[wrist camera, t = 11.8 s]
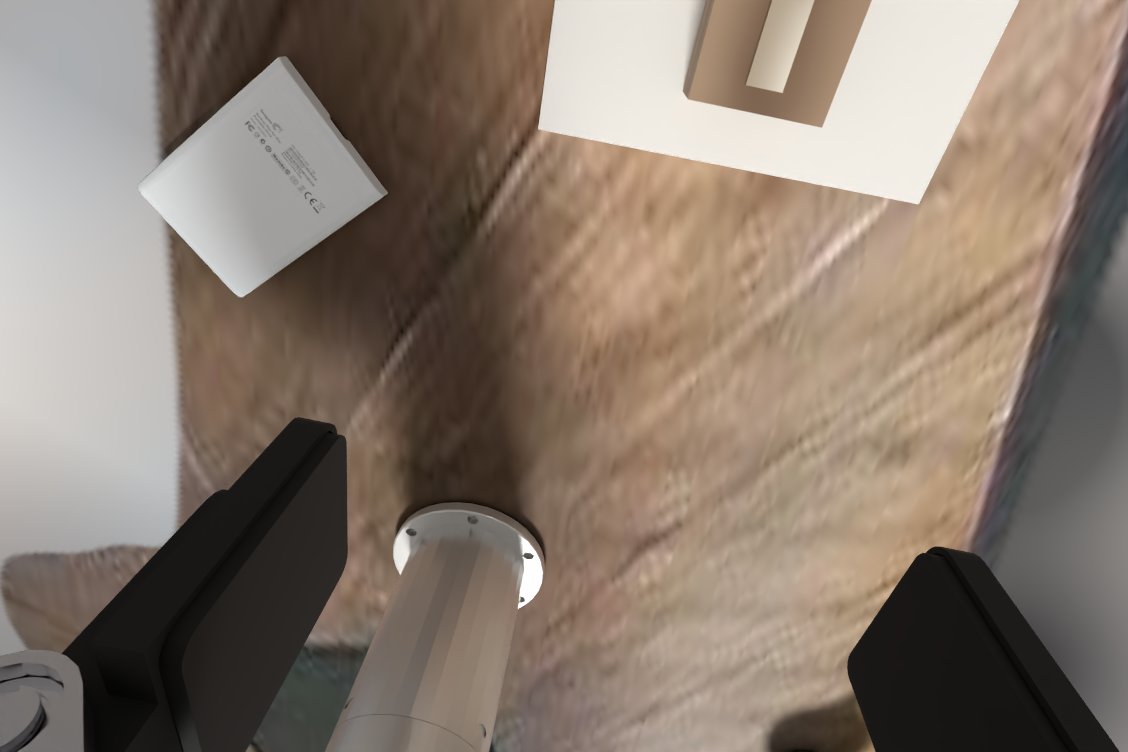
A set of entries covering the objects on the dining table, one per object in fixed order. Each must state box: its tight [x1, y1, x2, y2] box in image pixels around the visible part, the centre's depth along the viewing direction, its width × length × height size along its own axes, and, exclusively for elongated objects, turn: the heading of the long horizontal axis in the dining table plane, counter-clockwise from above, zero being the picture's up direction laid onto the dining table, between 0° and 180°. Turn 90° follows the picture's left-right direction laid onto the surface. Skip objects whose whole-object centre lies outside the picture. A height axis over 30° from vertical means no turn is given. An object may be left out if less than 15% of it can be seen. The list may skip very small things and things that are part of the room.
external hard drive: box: [137, 56, 388, 297], centre depth 33 cm, size 2×8×12 cm
